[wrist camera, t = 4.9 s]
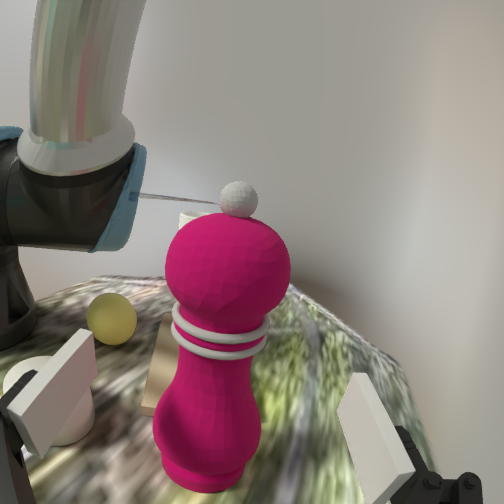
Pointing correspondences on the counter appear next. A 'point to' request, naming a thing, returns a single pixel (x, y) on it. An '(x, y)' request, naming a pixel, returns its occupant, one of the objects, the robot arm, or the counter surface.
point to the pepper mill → (218, 340)
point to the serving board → (161, 366)
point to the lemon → (111, 318)
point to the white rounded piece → (79, 417)
